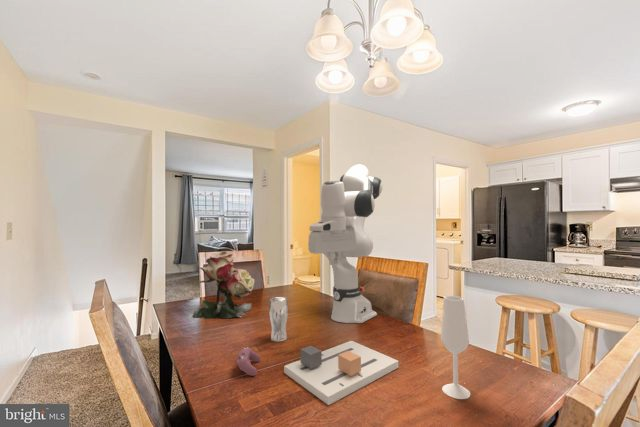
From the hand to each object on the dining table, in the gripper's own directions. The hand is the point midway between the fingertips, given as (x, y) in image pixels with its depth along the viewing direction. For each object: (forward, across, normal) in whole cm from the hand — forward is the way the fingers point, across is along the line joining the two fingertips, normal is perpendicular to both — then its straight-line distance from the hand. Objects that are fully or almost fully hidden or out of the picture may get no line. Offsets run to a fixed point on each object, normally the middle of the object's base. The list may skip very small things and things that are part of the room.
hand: (334, 264), depth 104 cm
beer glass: (+29, +11, -20) cm, 37 cm away
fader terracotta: (+27, +11, +18) cm, 34 cm away
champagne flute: (+29, -6, +40) cm, 50 cm away
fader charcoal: (+27, +17, +8) cm, 33 cm away
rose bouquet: (+29, +12, -68) cm, 75 cm away
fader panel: (+29, +9, +13) cm, 33 cm away
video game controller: (+29, +30, -6) cm, 42 cm away
